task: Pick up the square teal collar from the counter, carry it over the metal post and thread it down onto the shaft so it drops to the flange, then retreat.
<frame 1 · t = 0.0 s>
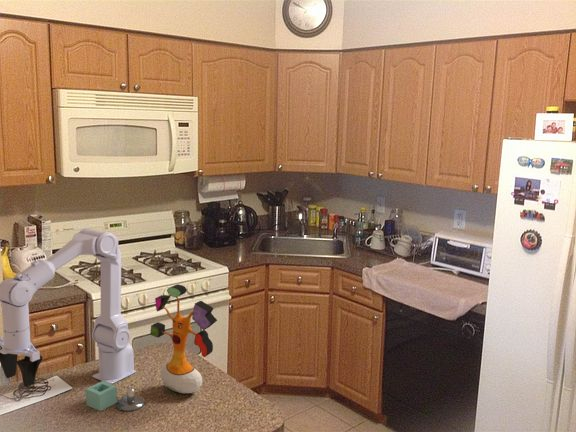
hand: (19, 380, 135), 10 cm above the countertop, tool pointing down, fingers open, 7 cm apart
post: (130, 404, 145), on the countertop
collar: (101, 403, 145), on the countertop
decorative sculpture: (183, 392, 152), on the countertop
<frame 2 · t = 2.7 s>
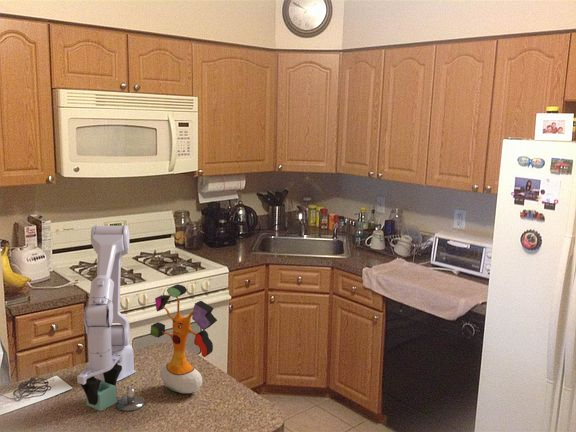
hand: (101, 397, 145), 2 cm above the countertop, tool pointing down, fingers closed on collar, 6 cm apart
collar: (101, 403, 145), on the countertop, touching gripper
everything else where it was.
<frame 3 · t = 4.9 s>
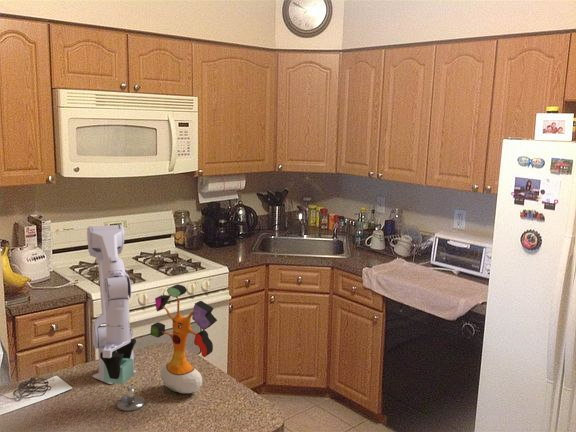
hand: (119, 372, 143), 9 cm above the countertop, tool pointing down, fingers closed on collar, 6 cm apart
collar: (119, 378, 143), point 7 cm above the countertop, touching gripper
everything else where it was.
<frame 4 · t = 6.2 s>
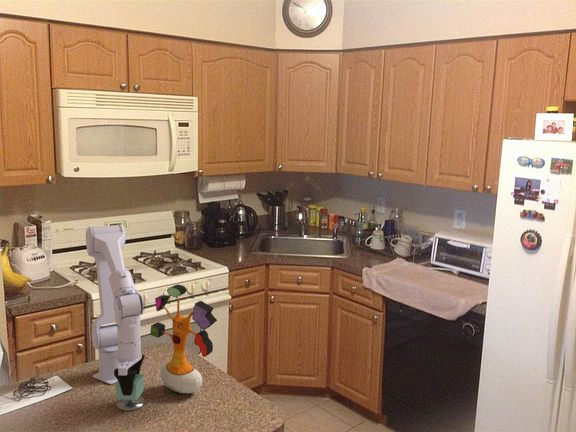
hand: (130, 388, 144), 4 cm above the countertop, tool pointing down, fingers closed on collar, 6 cm apart
collar: (130, 394, 144), point 3 cm above the countertop, touching gripper
everything else where it was.
when the fingers open (4 cm above the countertop, at t = 7.2 s): collar drops 2 cm, resting on post.
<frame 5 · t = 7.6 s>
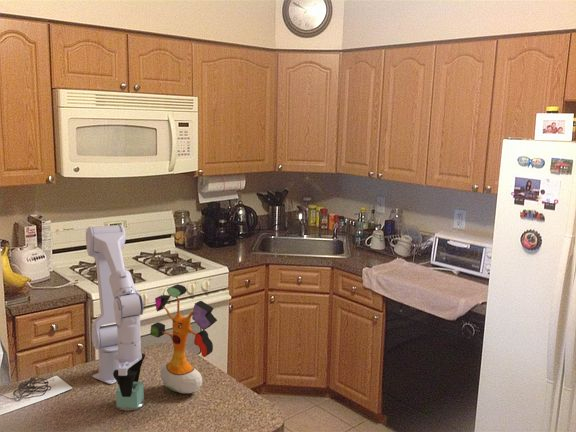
hand: (130, 388, 144), 4 cm above the countertop, tool pointing down, fingers open, 7 cm apart
collar: (130, 402, 145), point 1 cm above the countertop, touching post
everything else where it was.
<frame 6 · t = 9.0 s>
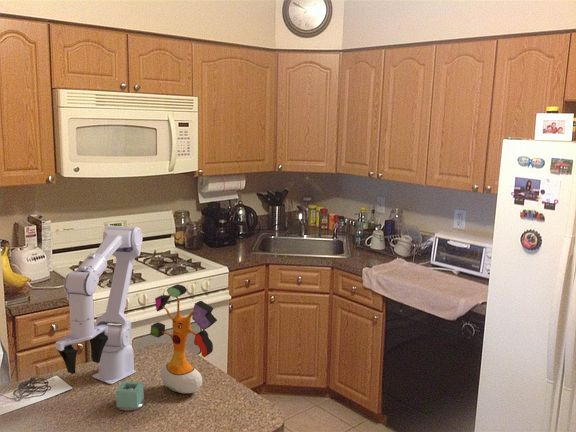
hand: (84, 367, 143), 10 cm above the countertop, tool pointing down, fingers open, 7 cm apart
nothing on the countertop moved.
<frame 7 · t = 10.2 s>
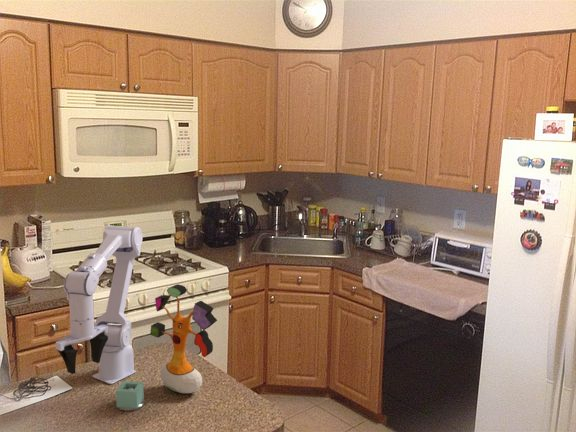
hand: (84, 367, 143), 10 cm above the countertop, tool pointing down, fingers open, 7 cm apart
nothing on the countertop moved.
at the end: collar 0.1 cm off-centre on the post, point 0.6 cm above the post's base; the gripper is holding nothing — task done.
